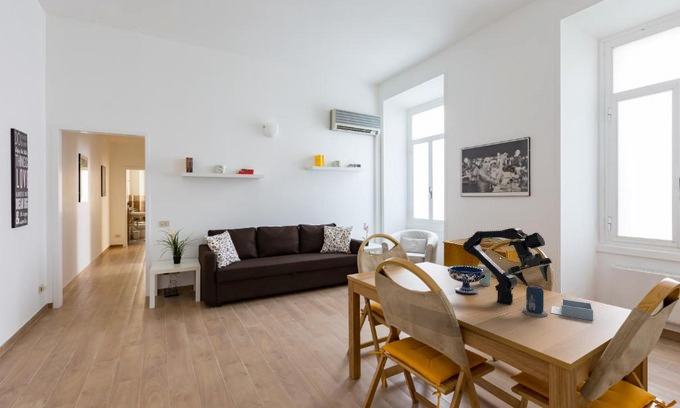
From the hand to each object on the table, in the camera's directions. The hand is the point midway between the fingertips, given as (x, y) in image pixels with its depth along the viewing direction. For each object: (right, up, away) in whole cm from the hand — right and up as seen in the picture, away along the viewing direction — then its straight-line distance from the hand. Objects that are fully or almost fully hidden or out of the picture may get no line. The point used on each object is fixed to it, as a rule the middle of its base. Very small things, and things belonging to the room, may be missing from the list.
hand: (536, 283), depth 156 cm
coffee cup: (-5, -12, +46) cm, 48 cm away
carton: (+15, -13, -2) cm, 20 cm away
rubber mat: (-3, -13, -4) cm, 14 cm away
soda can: (-3, -12, -4) cm, 13 cm away
